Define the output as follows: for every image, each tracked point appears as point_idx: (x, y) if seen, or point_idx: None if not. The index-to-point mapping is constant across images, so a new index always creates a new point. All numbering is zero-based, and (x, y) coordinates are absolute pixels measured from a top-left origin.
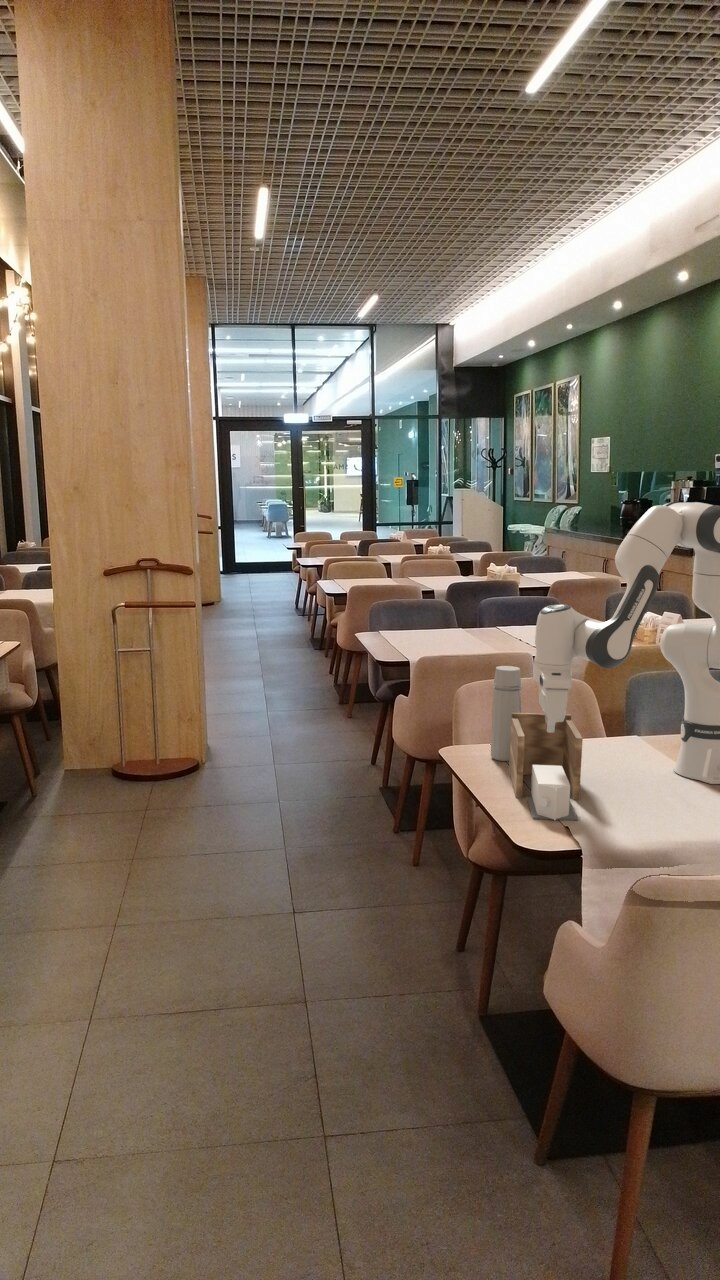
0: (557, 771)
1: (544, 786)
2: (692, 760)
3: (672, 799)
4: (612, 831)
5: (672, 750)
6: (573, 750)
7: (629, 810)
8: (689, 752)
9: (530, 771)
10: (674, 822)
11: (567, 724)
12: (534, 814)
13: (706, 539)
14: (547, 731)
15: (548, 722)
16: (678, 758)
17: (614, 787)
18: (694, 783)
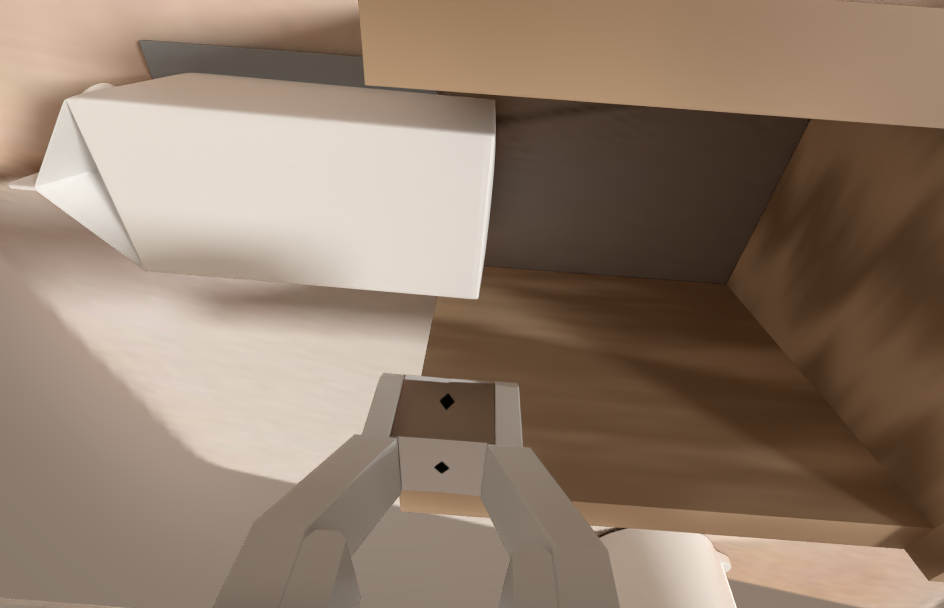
0: (364, 259)
1: (56, 130)
2: (627, 581)
3: None
4: (158, 307)
5: (837, 556)
6: None
7: (362, 385)
8: (645, 600)
9: (804, 158)
10: (297, 442)
11: (808, 508)
12: (180, 56)
13: None
14: (382, 376)
15: (313, 479)
16: (680, 564)
17: None
18: None
